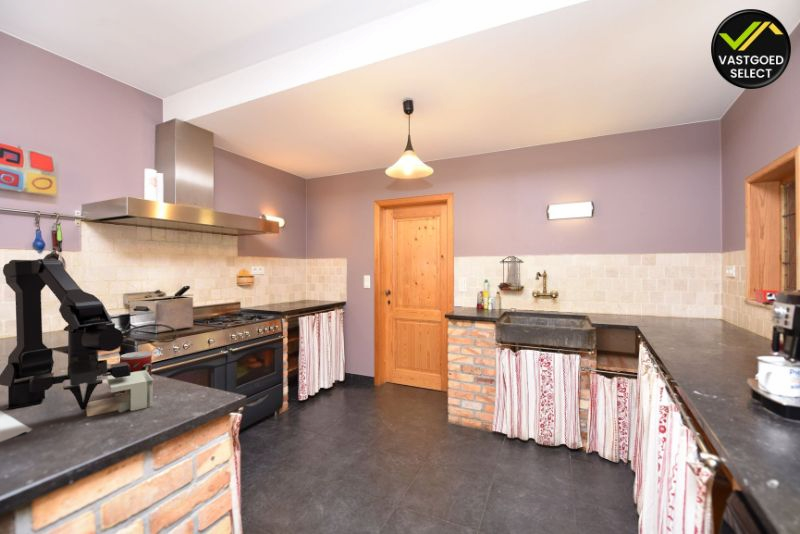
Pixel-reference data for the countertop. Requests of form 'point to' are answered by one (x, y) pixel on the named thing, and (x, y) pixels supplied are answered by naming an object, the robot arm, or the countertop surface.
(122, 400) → the panel
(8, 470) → the countertop surface
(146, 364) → the canned food
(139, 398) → the pale green angular bracket
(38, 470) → the countertop surface
